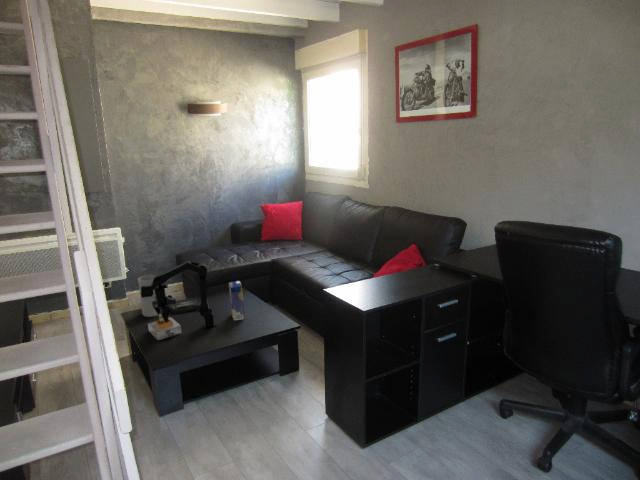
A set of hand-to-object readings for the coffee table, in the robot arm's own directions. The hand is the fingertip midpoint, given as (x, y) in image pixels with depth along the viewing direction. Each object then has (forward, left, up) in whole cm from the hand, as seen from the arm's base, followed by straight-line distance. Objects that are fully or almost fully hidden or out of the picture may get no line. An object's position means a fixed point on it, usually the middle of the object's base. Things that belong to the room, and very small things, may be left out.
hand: (163, 320), depth 266 cm
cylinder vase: (+34, -4, -8) cm, 35 cm away
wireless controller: (+26, -26, -8) cm, 37 cm away
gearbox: (-2, 0, -8) cm, 8 cm away
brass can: (0, 0, -3) cm, 3 cm away
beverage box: (-9, -44, -8) cm, 46 cm away
